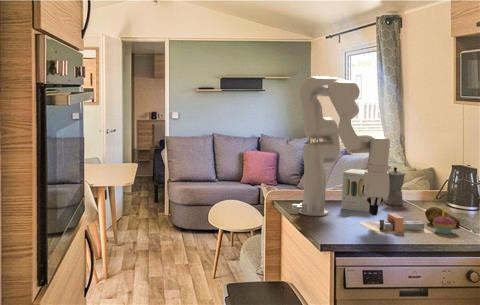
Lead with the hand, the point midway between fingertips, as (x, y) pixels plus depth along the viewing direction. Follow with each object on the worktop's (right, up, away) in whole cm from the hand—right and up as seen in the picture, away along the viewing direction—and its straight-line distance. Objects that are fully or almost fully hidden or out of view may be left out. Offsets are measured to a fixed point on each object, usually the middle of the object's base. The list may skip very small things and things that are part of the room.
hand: (373, 214), depth 213 cm
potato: (+29, -6, +7) cm, 31 cm away
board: (+8, -6, +1) cm, 11 cm away
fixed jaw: (+10, -6, -3) cm, 12 cm away
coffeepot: (+23, -1, +55) cm, 59 cm away
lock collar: (+8, -6, -3) cm, 10 cm away
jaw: (+11, -5, -2) cm, 13 cm away
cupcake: (+26, -8, -4) cm, 27 cm away
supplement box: (+3, -2, +41) cm, 42 cm away
